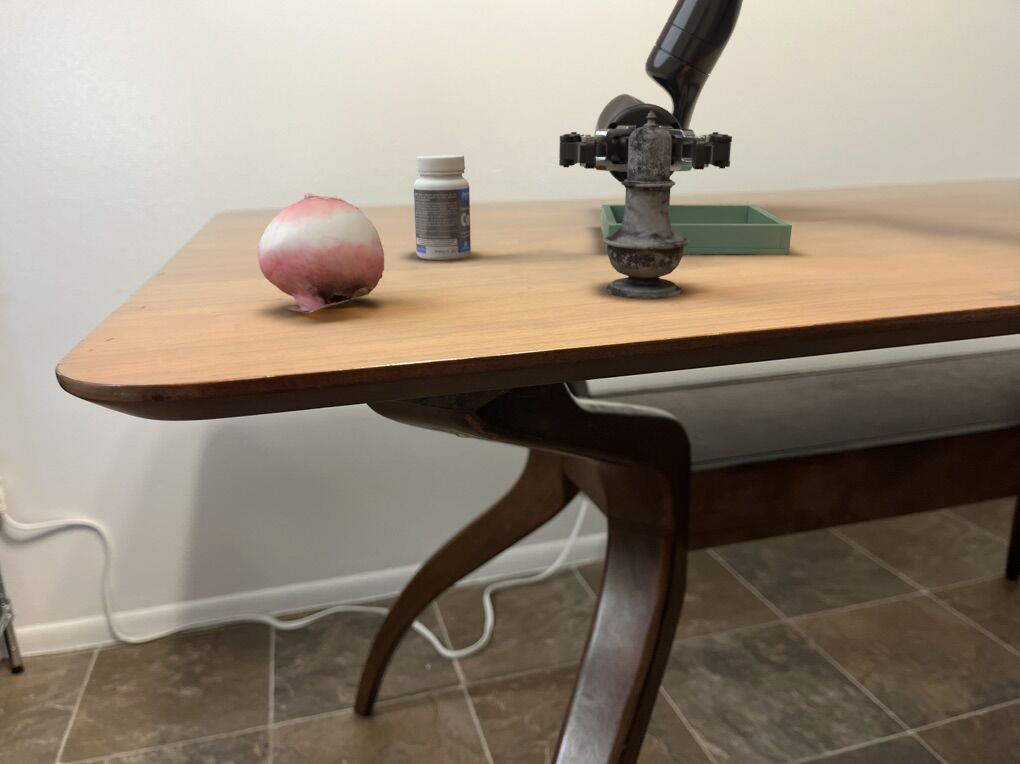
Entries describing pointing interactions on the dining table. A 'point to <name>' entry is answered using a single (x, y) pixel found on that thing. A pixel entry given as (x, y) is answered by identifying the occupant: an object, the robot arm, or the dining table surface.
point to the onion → (321, 253)
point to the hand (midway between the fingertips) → (645, 155)
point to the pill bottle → (442, 208)
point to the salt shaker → (646, 220)
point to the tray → (717, 228)
